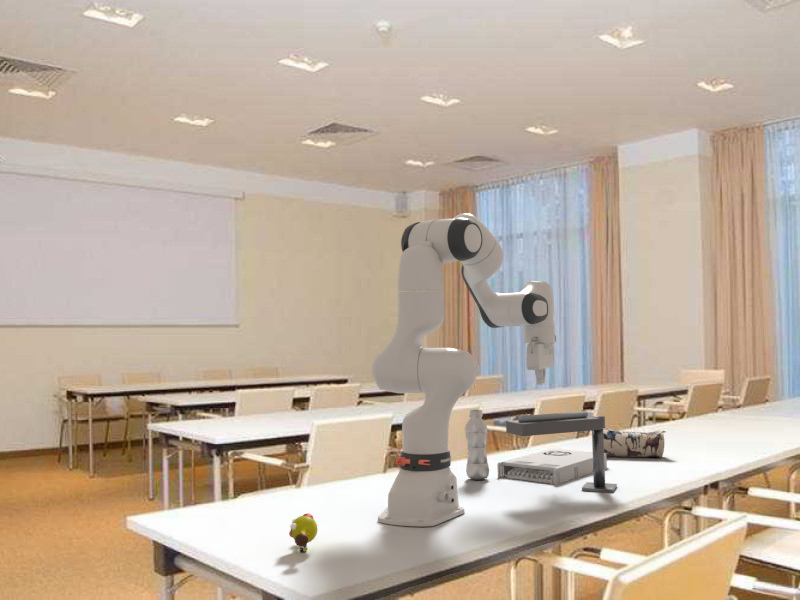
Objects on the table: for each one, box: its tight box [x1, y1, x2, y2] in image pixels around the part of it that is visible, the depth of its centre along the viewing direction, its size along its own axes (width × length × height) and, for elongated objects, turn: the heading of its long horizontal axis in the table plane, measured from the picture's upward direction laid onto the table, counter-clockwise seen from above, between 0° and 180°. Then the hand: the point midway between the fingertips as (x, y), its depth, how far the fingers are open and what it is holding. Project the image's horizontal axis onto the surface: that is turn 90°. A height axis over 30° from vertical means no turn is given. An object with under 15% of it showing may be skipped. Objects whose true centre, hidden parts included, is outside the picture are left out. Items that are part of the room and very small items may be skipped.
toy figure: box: [289, 513, 318, 553], centre depth 148 cm, size 18×6×7 cm, turn 3°
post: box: [581, 428, 618, 494], centre depth 201 cm, size 8×8×16 cm
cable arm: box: [505, 411, 606, 437], centre depth 196 cm, size 28×8×5 cm, turn 113°
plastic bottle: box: [464, 409, 490, 481], centre depth 217 cm, size 6×7×20 cm
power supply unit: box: [496, 448, 608, 486], centre depth 226 cm, size 19×33×5 cm, turn 139°
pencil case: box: [602, 427, 667, 458], centre depth 251 cm, size 22×8×10 cm, turn 73°
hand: (540, 384), depth 217 cm, fingers closed
